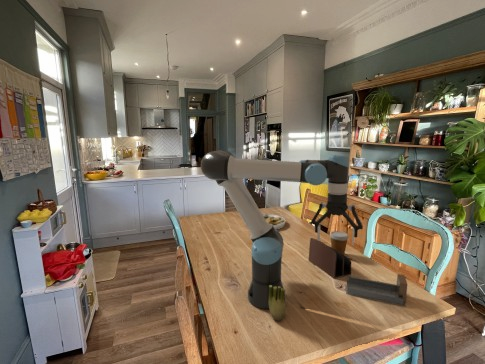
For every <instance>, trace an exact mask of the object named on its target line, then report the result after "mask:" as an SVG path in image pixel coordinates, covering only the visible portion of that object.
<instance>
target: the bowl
mask: <svg viewBox="0 0 485 364" xmlns="http://www.w3.org/2000/svg"><path fill="white" fill-rule="evenodd" d="M262 215H263V216H264V218H265V220H266V221H267V223H269V224H272V225H273V227H274V228H275V230H277V229H278V230H280V228H281V229H282V228H283V227H284V226H285V225H286V219H285V217H283V216H282V215H281V216H280V215H278V214H272V213H262ZM245 226H246V227H247V225H246V224H245ZM278 230H277V231H278Z"/></svg>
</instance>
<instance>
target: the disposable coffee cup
mask: <svg viewBox="0 0 485 364" xmlns="http://www.w3.org/2000/svg"><path fill="white" fill-rule="evenodd" d="M329 238H330V243H331V246H330V247H332V248H334V249H336V250H337V251H339V252H341V253H342V254H344V255H346V248H347V243H348V239H349V235H348V233H346V232H344V231H338V230H334V231H333V230H332V231H331V232H330V234H329Z"/></svg>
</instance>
